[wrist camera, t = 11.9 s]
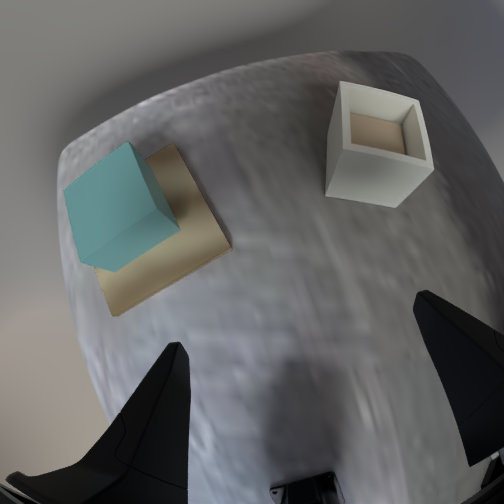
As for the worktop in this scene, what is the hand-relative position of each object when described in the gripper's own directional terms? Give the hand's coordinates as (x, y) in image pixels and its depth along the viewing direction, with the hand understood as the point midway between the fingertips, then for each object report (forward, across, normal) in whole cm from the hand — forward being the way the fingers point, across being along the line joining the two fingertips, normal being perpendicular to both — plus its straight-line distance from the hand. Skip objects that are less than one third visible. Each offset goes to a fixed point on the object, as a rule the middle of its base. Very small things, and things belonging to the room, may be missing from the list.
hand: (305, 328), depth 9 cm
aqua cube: (+16, +12, +1) cm, 20 cm away
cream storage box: (+18, -10, +1) cm, 21 cm away
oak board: (+17, +12, +2) cm, 21 cm away
